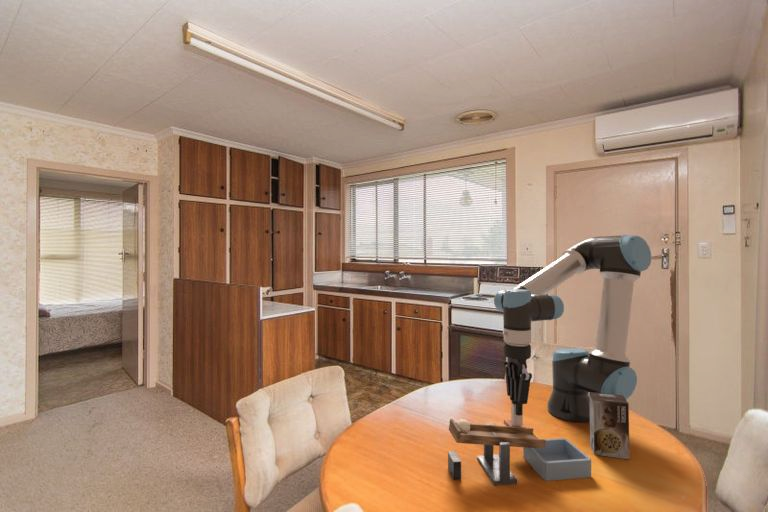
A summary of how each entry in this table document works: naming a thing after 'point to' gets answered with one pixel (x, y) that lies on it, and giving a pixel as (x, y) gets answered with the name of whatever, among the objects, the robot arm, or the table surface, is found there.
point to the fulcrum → (488, 464)
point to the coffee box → (609, 425)
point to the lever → (497, 435)
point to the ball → (463, 426)
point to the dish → (558, 460)
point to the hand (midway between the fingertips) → (516, 424)
